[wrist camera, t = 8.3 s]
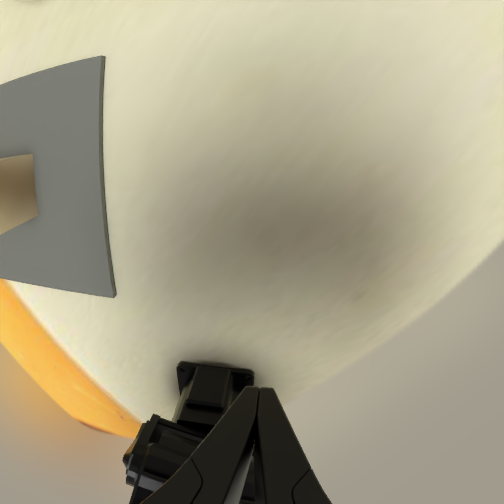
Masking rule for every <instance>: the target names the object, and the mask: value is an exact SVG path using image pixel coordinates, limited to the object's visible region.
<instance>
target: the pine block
mask: <svg viewBox="0 0 504 504" xmlns="http://www.w3.org/2000/svg"><path fill="white" fill-rule="evenodd" d="M36 216H39V215H38V207H37V199H36V189H35V178H34V164H33V154H27V155H20V156H13V157H7V158H0V235H1V234H3V233H5V232H7V231H8V230H10V229H12V228H14V227H16V226H18V225H20V224H22V223H24V222H26V221H28V220H30V219H32V218H34V217H36Z"/></svg>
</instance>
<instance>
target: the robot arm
mask: <svg viewBox="0 0 504 504" xmlns="http://www.w3.org/2000/svg"><path fill="white" fill-rule="evenodd" d="M182 368H184V369H182ZM177 376H178V384H179V390H180V399H179V402H178V405H177V407H176V410H175V413H174V416H173V418H172V421H169V420H166V419H163V418H160V416H158V415H156V414H153V415H152V417H151V419H150V421H149V420H147V422H146V423H142V425H141V428H140V430H139V432H138V435H137V437H136V439H135V440H134V442H133V443H132V444H131V446H130V447H129V449H128V450H127V451H126V453H125V454H124V457H123V463H124V465H125V466H126V468H127V469H126V474H127V477H126V484H128V485H131V486H133V487H134V489H133V493H132V496H131V499H130V503H129V504H332V503H331V501H330V500H329V498H328V497H327V495H326V494H325V492H324V491H323V489H322V487H321V485H320V484H319V482H318V480H317V478H316V476H315V474H314V472H313V470H312V469H311V466H310V464H309V462H308V460H307V458H306V456H305V454H304V452H303V450H302V447H301V445H300V443H299V441H298V439H297V437H296V435H295V433H294V431H293V429H292V427H291V424H290V422H289V420H288V418H287V416H286V414H285V412H284V410H283V407H282V405H281V403H280V401H279V399H278V397H277V394H276V392H275V390H274V389H273V388H268V387H261V388H260V389H259V387H256V386H254V373H253V372H252V371H249V370H240V369H230V368H221V367H213V366H205V365H197V364H190V363H183V362H181V363H179V364H178V365H177ZM247 376H250V377H247ZM259 390H260V391H259Z"/></svg>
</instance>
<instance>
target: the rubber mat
mask: <svg viewBox="0 0 504 504" xmlns="http://www.w3.org/2000/svg"><path fill="white" fill-rule="evenodd" d="M104 65H105V56H97V57H92V58H88V59H84V60H79V61H75V62H71V63H67V64H63V65H60V66H56V67H53V68H49V69H46V70H42V71H39V72H36V73H33V74H30V75H27V76H24V77H21V78H18V79H15V80H12V81H9V82H7V83H4V84H1V85H0V158H7V157H13V156H20V155H27V154H33V164H34V178H35V189H36V199H37V207H38V215H39V216H36V217H34V218H32V219H30V220H28V221H26V222H24V223H22V224H20V225H18V226H16V227H14V228H12V229H10V230H8V231H7V232H5V233H3V234H1V235H0V278H2V279H7V280H12V281H17V282H22V283H27V284H32V285H38V286H43V287H48V288H54V289H60V290H66V291H71V292H77V293H84V294H90V295H96V296H103V297H109V298H114V297H115V296H116V290H115V283H114V277H113V270H112V263H111V255H110V247H109V238H108V229H107V218H106V206H105V193H104V175H103V145H102V111H103V82H104Z"/></svg>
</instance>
